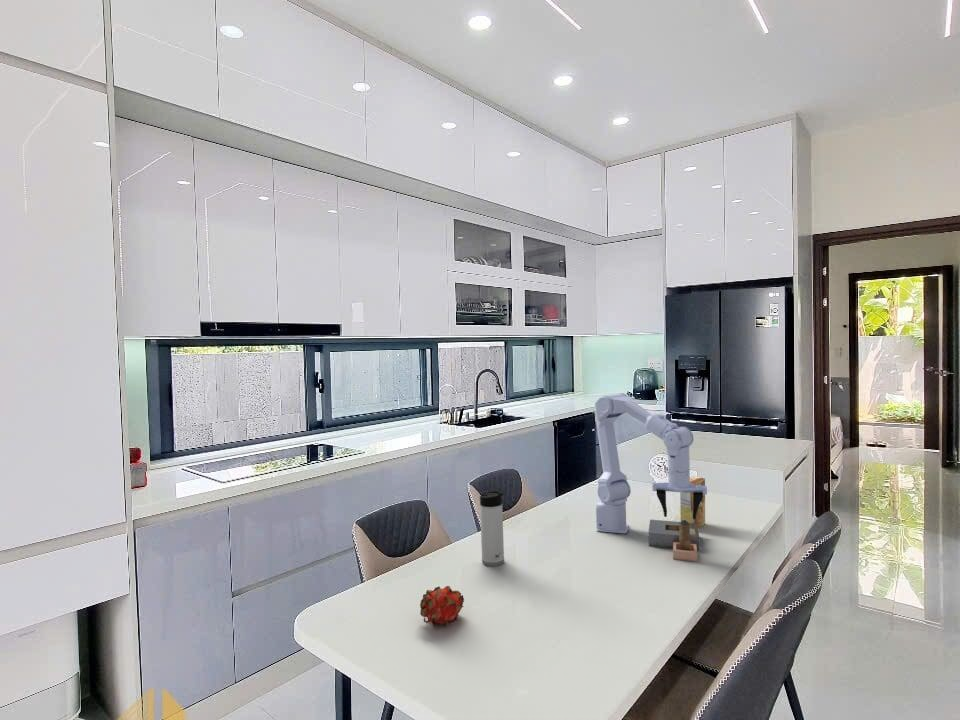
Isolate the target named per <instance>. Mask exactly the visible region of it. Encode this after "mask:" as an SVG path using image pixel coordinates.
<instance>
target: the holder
mask: <svg viewBox="0 0 960 720" xmlns="http://www.w3.org/2000/svg"><path fill="white" fill-rule="evenodd" d="M672 555H673V557H672V558H673V560H677V561H688V562H697V563H698V551H697V546H696V544H690V551H686V550H680V543H676V542H673V548H672Z"/></svg>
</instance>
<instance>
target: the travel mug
mask: <svg viewBox="0 0 960 720" xmlns="http://www.w3.org/2000/svg"><path fill="white" fill-rule="evenodd" d="M503 496H504V492H503V491H500V490H499V491H498V490H494V491H492V490H491V491H487V492H484V493H482V494H481V495H479V511H480V512H479V513H480V514H479V515H480V516H479V517H480V538H481V540H480V541H481V542H480V543H481V545H480V546H481V562H482V564H483V565H484V566H487V567H498V566H501V565H503V564H504V563H505V551H504V550H505V548H504V543H505V542H504V523H503V522H504V521H503V519H504V518H503V517H504V516H503V501H502V500H503V499H502V498H503Z"/></svg>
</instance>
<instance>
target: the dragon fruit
mask: <svg viewBox="0 0 960 720" xmlns="http://www.w3.org/2000/svg"><path fill="white" fill-rule="evenodd" d="M464 598H465V597H464V595H463V594H462V593H461V592H460V591H459V590H452V587H450V585H446V586H445V587H443V588H441V587H440V585H439V586H437V587H434V589H433V590H432V589H427V590H426V592H425V594H422V598H421V600H420V603H419V607H420V608H419V609H420V612H419V614H420V616H421V617H423V622H424V623H426V624H432V625H433V626H436V625H438V624H441V625H442V626H445V627H448V626H449V624H450V621H456V620H457V618H458V617H459V613H460V612H461V610H462V608H463V607H464V605H463V604H464V603H465V599H464ZM426 619H427V620H426Z"/></svg>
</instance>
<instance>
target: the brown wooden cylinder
mask: <svg viewBox="0 0 960 720" xmlns="http://www.w3.org/2000/svg"><path fill="white" fill-rule="evenodd" d="M679 522H680V523H679V542H680V550H686V551H690V524H689V523H688V522H687V521H686V520H682V521H681V520H680V521H679Z"/></svg>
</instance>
